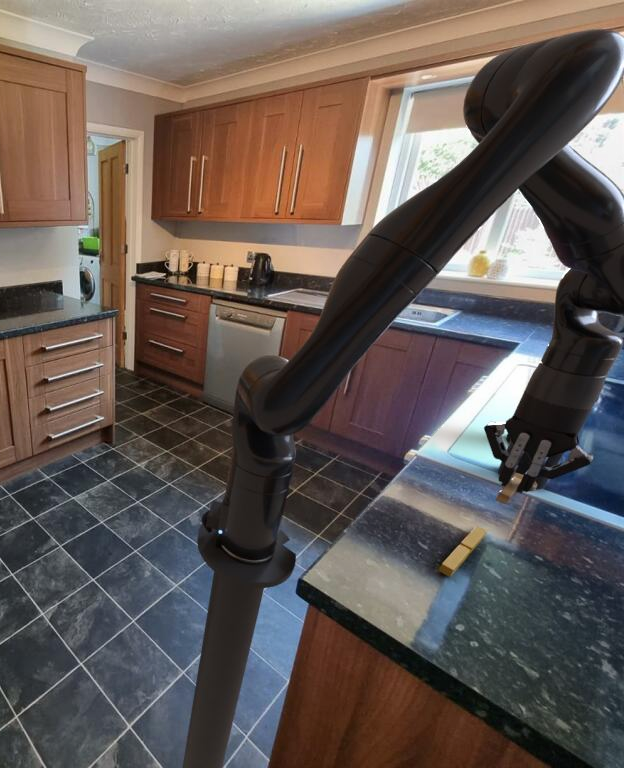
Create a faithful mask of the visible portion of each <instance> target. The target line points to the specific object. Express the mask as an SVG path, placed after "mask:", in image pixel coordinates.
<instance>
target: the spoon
mask: <svg viewBox="0 0 624 768" xmlns="http://www.w3.org/2000/svg"><path fill="white" fill-rule="evenodd" d="M523 476H524V475H522V474H519V473H515V474H514V476H513V478H512V480H511V481H510V482H509V483H508V484H507V485H506V486H505V487H504V486H503V487H502V489H500V490H499V492H498V493H497V495H496V498H495V501H497V502H499V503H500V504H501V503H502V504H504V505H507V504H508V503H509V502H510V501H511V500H512V499H513V498H514V497H515V495H516V494H517V493H518V492H516V491H517V489H518V486H519V484H520V482H521V480H522V478H523ZM536 487H537V483H536V482H535V483H534V485H533V487H532V488H531V490H530V491H529V492H534V491H535V490H537V489H536Z"/></svg>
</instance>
